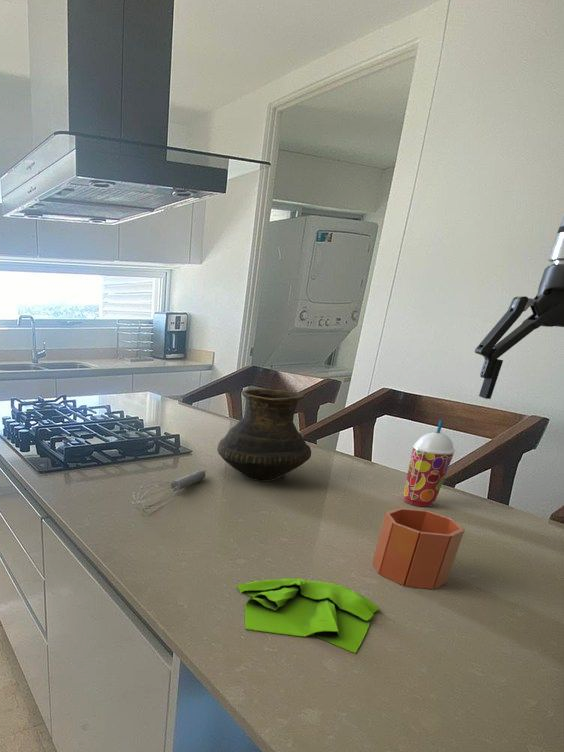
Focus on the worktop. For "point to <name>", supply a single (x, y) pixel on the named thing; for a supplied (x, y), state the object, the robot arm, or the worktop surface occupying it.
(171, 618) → the worktop surface
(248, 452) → the ceramic pot
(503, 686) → the worktop surface
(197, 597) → the worktop surface
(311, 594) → the cloth
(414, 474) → the smoothie
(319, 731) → the worktop surface
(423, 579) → the cup
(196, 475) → the kitchen whisk
